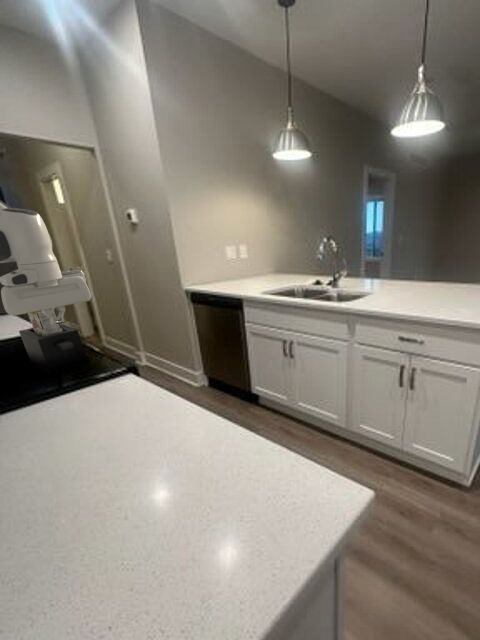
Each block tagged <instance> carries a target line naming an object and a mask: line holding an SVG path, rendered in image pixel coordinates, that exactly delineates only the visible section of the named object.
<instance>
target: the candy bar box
mask: <svg viewBox="0 0 480 640" xmlns="http://www.w3.org/2000/svg"><path fill="white" fill-rule="evenodd" d="M50 312H51V313H49V314H50V315H51V316H52V317H57V316H58V314H57V312H56V308H51V309H50ZM27 315H28V319H29V321H30V323H31V326H32V328H33V329H34V331H35V333H36V334H38V335H40V336H43V337H44V336H48V335H52V334H56V333H60V332H62V329H61V326H60V324H61V323H59V324H55V325H52V324H51V322H50V319H49V318H48V317H47V316H46V315H44V314H43V313H42V310H41V311H36V312H31V313H27Z"/></svg>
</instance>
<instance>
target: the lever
mask: <svg viewBox="0 0 480 640" xmlns="http://www.w3.org/2000/svg"><path fill="white" fill-rule="evenodd" d="M56 346H57V348H59V349H61V350H66V349H69V348H73V347H74V346H73V343H70V342H68V341H65V342H62V343H58V344H56Z"/></svg>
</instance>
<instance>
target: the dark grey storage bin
mask: <svg viewBox="0 0 480 640" xmlns="http://www.w3.org/2000/svg"><path fill="white" fill-rule="evenodd" d="M60 326H61V329H62V332H60V333H56V334H52V335H48V336H44V337H43V336H40V335H38V334H36V333H35V331H34V329H33V327H30V328H26V329H23V330H22V329H21V330H18V333H19V335H20V338H21V340H22V344H23V346H24V348H25V350H26V354H27V356H28V358H29V362H30V363H31V364H32V365H33V366H35V367H37V368H38V369H40V370H42V371H43V372H45V373H47V375H50V376H52V375H55V374H58V373H62V372H64V371H67V370H70V369H74V368H76V367H79V366H83V365H86V364H89V361H88V359H87V355H86V352H85V349H84V346H83V342H82V339H81V335H80V333H79V330H78V329H76V328H73V327H70V326H67V325H65V324H63V323H60ZM65 341H68V342H70V343H73V346H74V347H73V348H69V349H66V350H61V349H59V348H57V346H56V344H58V343H62V342H65Z"/></svg>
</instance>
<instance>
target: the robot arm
mask: <svg viewBox="0 0 480 640" xmlns="http://www.w3.org/2000/svg"><path fill="white" fill-rule="evenodd" d="M53 245H54V244H53V240H52V237H51V235H50V234H49V230H48V229H47V226H46V224H45V222H44V219H43V218H42V216H41V215H40V214H39V212H37V211H35V210H32V209H27V208H17V207H11V206H10V205H8V204H6V203H5V202H4V201H2V200H1V199H0V264H6V263H16V266H17V268H18V269H15V270H13V271H11V272H8V273H6V274H4V275H1V276H0V284H1V285H2V287H1V290H0V296H1V301H2V305H3V309H4V311H5V312H6V313H7V314H8V315H10V316H12V317H15V316H20V315H25V314H28V313H31V312H36V311H41V310H42V313H43V314H44V315H46V316H47V317H48V318H49V319H50V322H51V324H52V325H55V324H59V323H60V324H63V323H65V321H66V320H65V318H64V316H65V313H66V306H70V305H75V304H81V303H85V302H90V301H91V299H92V294H91V291H90V288H89V286H88V284H87V283H86V282H87V278H86V275H85V273H84V272H83V271H82V270H79V269H75V268H74V269H70V270H69V269H68V270H61V268H60V266H59V262H58V259H57V256H55V253H54V252H53V247H54V246H53ZM51 308H55V309H56V310H57V311H58V314H57V317H52V316H51V315H50V314H49V313H51V312H50V309H51Z"/></svg>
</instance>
